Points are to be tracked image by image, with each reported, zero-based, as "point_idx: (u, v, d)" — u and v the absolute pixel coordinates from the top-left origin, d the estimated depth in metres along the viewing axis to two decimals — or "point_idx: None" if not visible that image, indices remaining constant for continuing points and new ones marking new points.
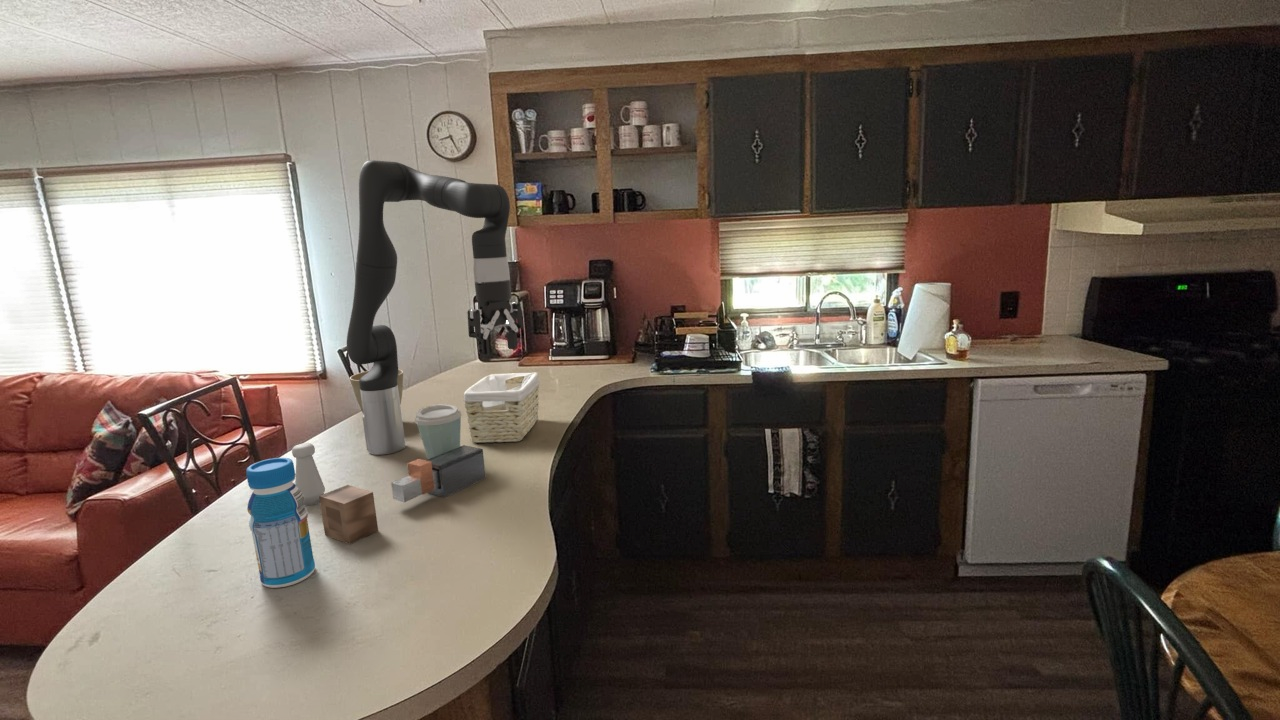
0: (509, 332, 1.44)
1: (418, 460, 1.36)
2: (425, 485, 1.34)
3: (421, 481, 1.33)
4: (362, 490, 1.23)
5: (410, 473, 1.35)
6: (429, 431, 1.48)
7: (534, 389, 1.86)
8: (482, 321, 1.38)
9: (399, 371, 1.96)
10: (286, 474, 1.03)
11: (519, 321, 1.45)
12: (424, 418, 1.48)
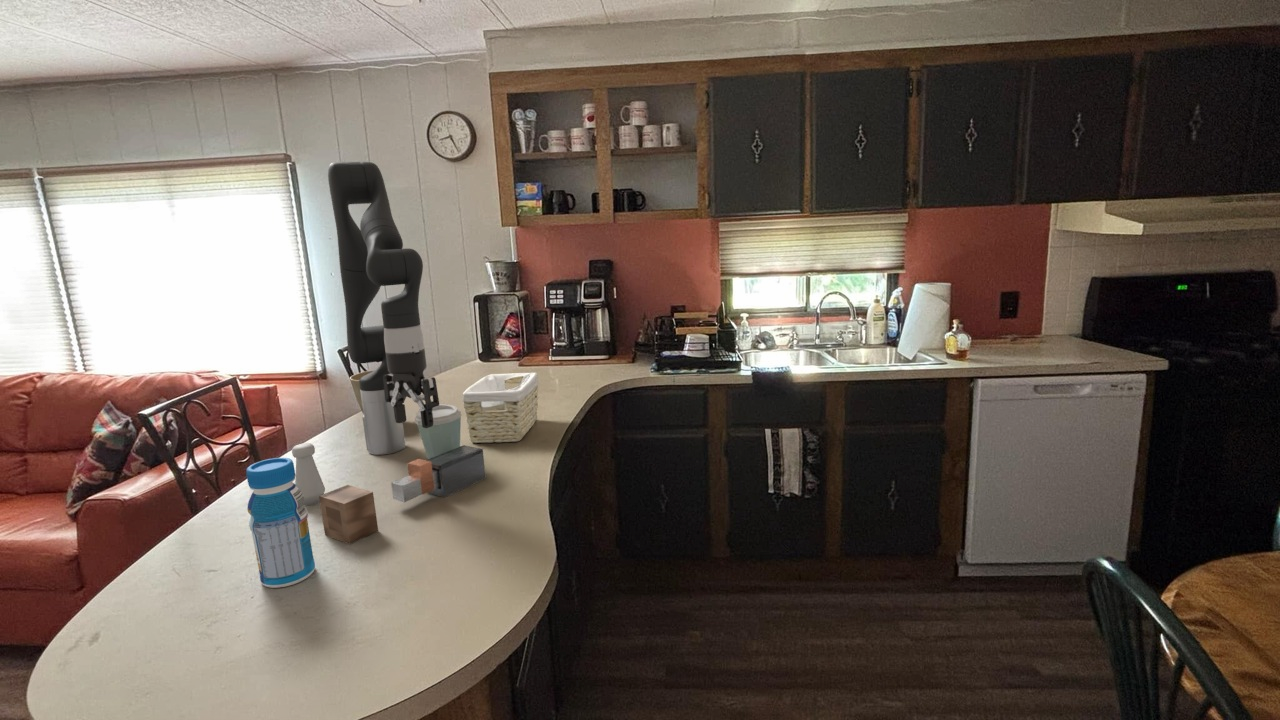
0: (398, 405, 1.35)
1: (418, 460, 1.36)
2: (425, 485, 1.34)
3: (421, 481, 1.33)
4: (362, 490, 1.23)
5: (410, 473, 1.35)
6: (429, 431, 1.48)
7: (533, 389, 1.86)
8: None
9: None
10: (286, 474, 1.03)
11: None
12: None
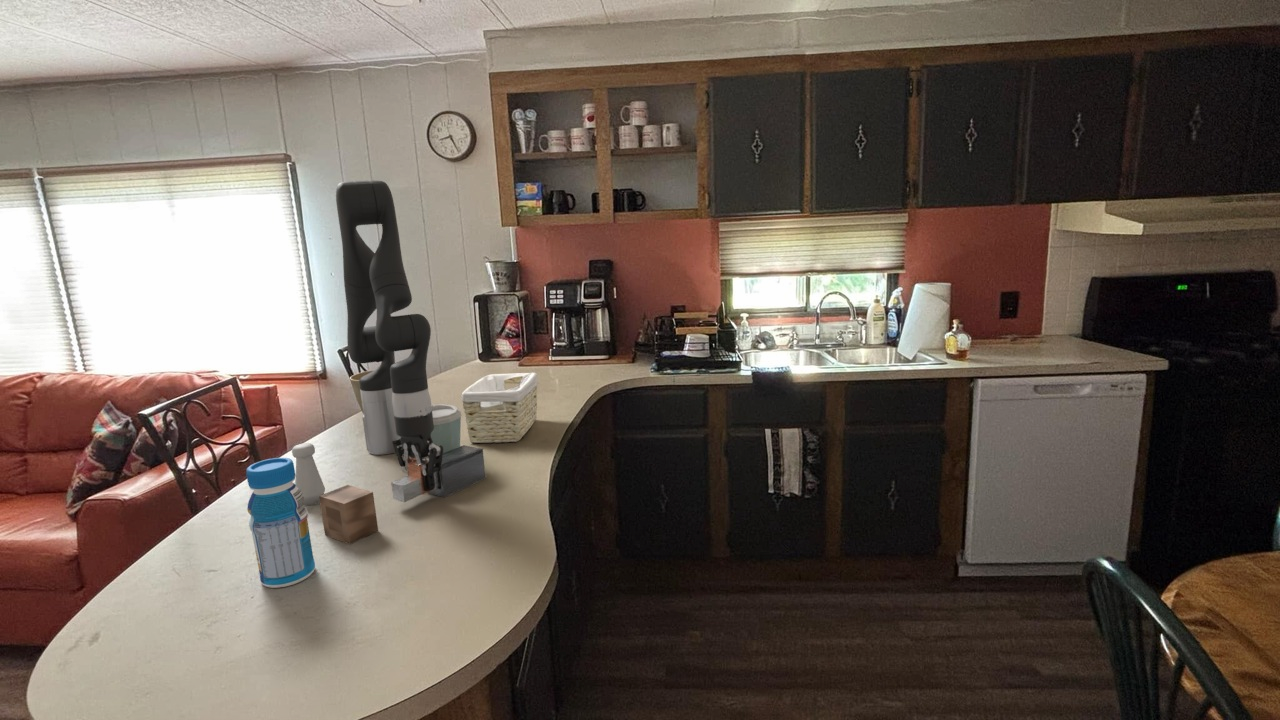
0: None
1: None
2: None
3: (421, 481, 1.33)
4: (362, 490, 1.23)
5: (410, 473, 1.35)
6: None
7: (532, 389, 1.86)
8: None
9: None
10: (286, 474, 1.03)
11: None
12: None
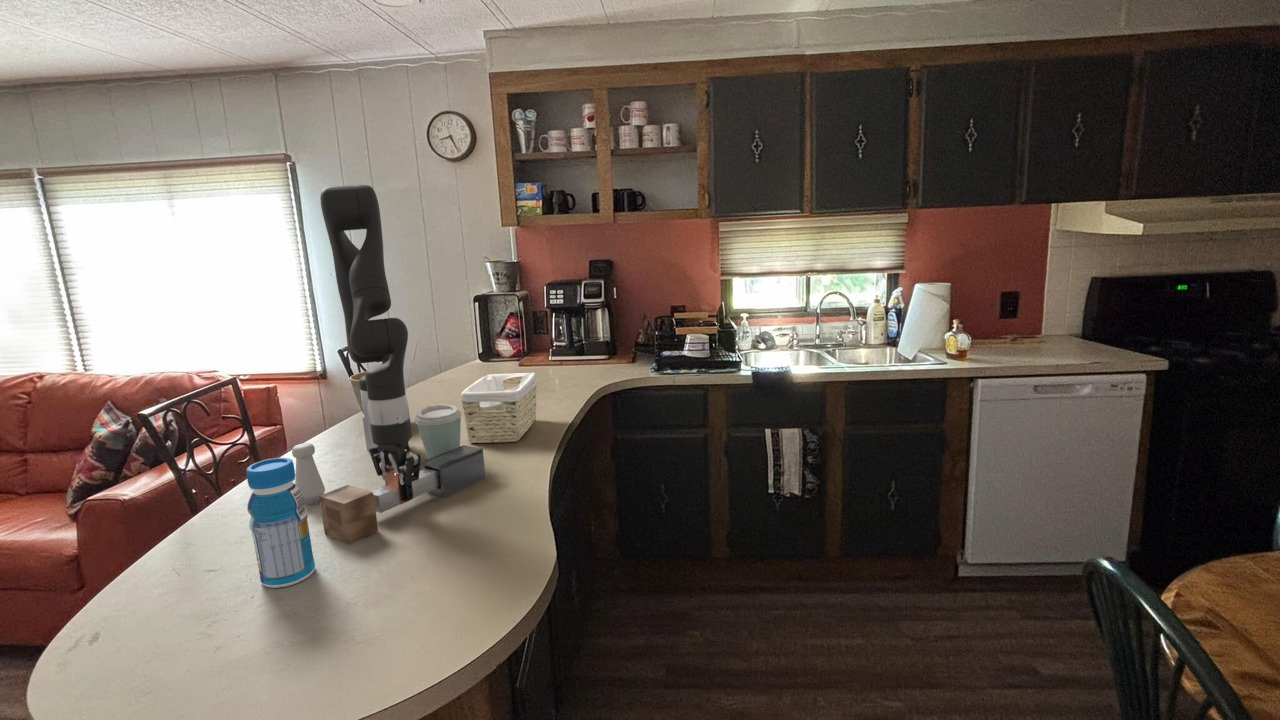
0: None
1: None
2: None
3: (399, 491, 1.29)
4: (362, 490, 1.23)
5: (387, 482, 1.30)
6: (429, 431, 1.48)
7: (532, 389, 1.86)
8: None
9: None
10: (286, 474, 1.03)
11: None
12: (424, 418, 1.48)
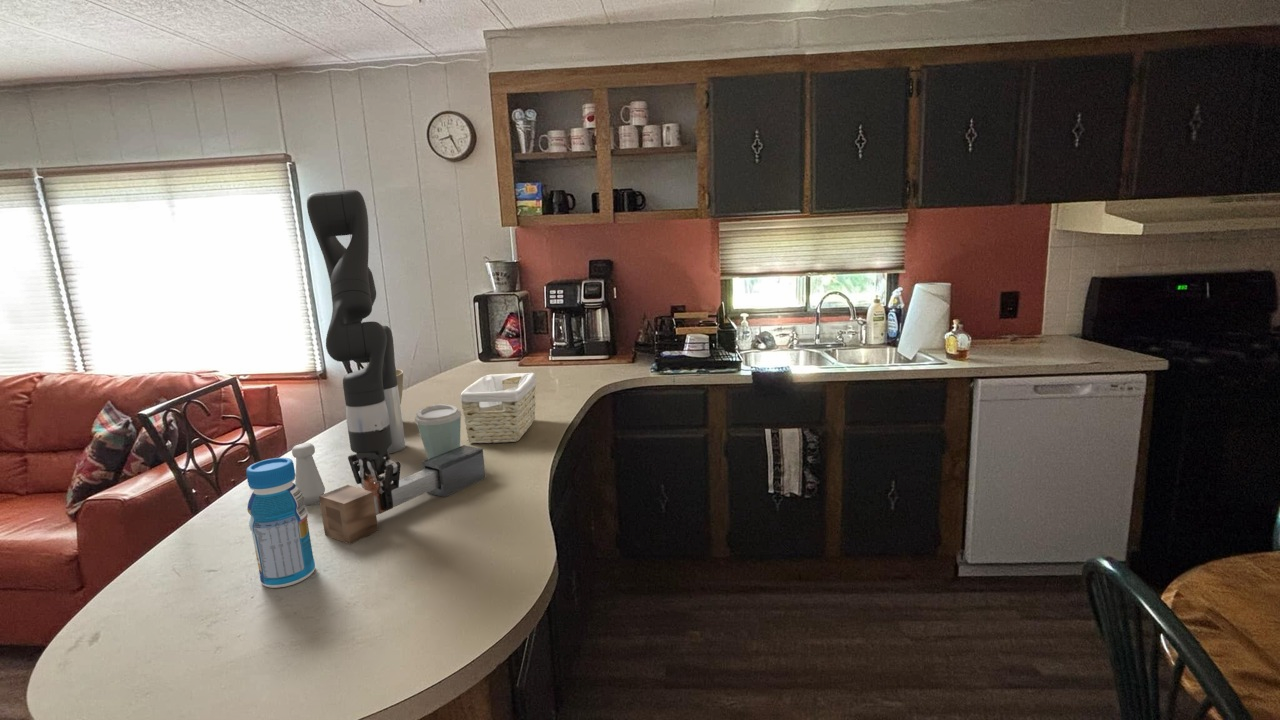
0: None
1: None
2: None
3: (378, 500, 1.25)
4: (362, 490, 1.23)
5: None
6: (429, 431, 1.48)
7: (531, 389, 1.86)
8: None
9: (399, 371, 1.96)
10: (286, 474, 1.03)
11: None
12: (424, 418, 1.48)
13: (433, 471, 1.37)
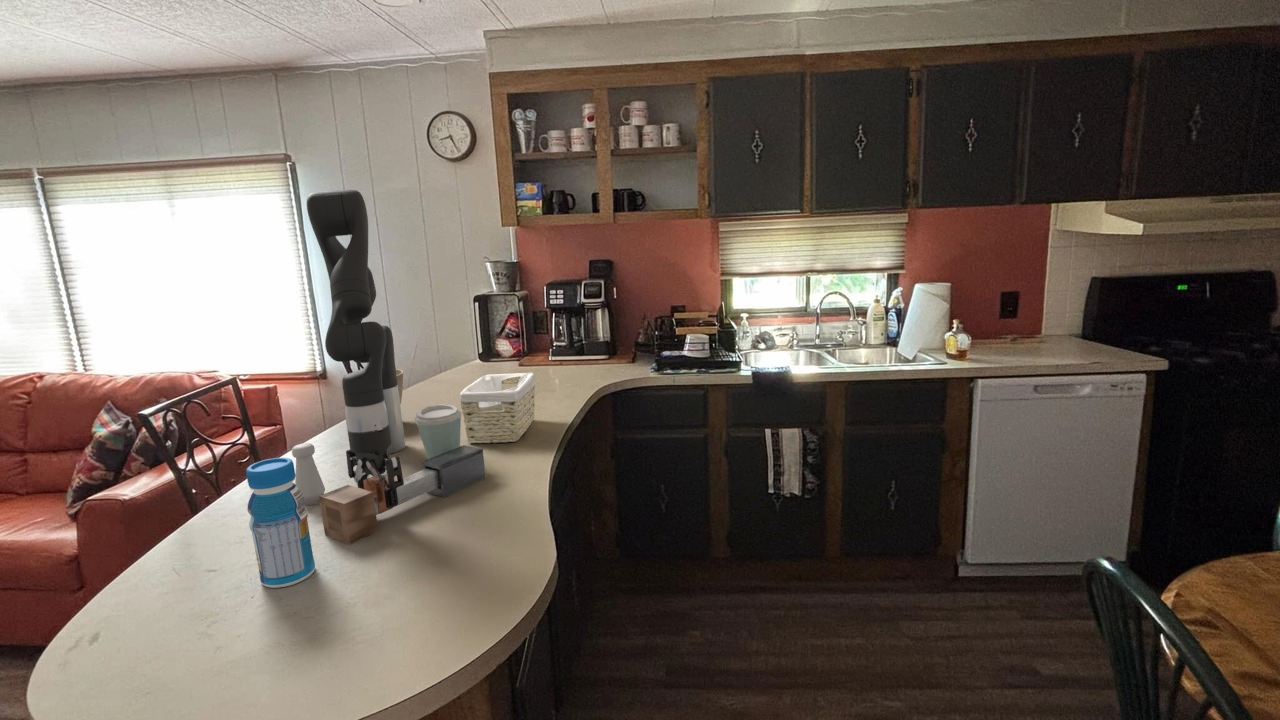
0: (362, 481, 1.29)
1: None
2: (382, 504, 1.26)
3: (377, 500, 1.25)
4: (362, 490, 1.23)
5: None
6: (429, 431, 1.48)
7: (530, 389, 1.86)
8: None
9: (399, 371, 1.96)
10: (286, 474, 1.03)
11: None
12: (424, 418, 1.48)
13: (433, 471, 1.37)
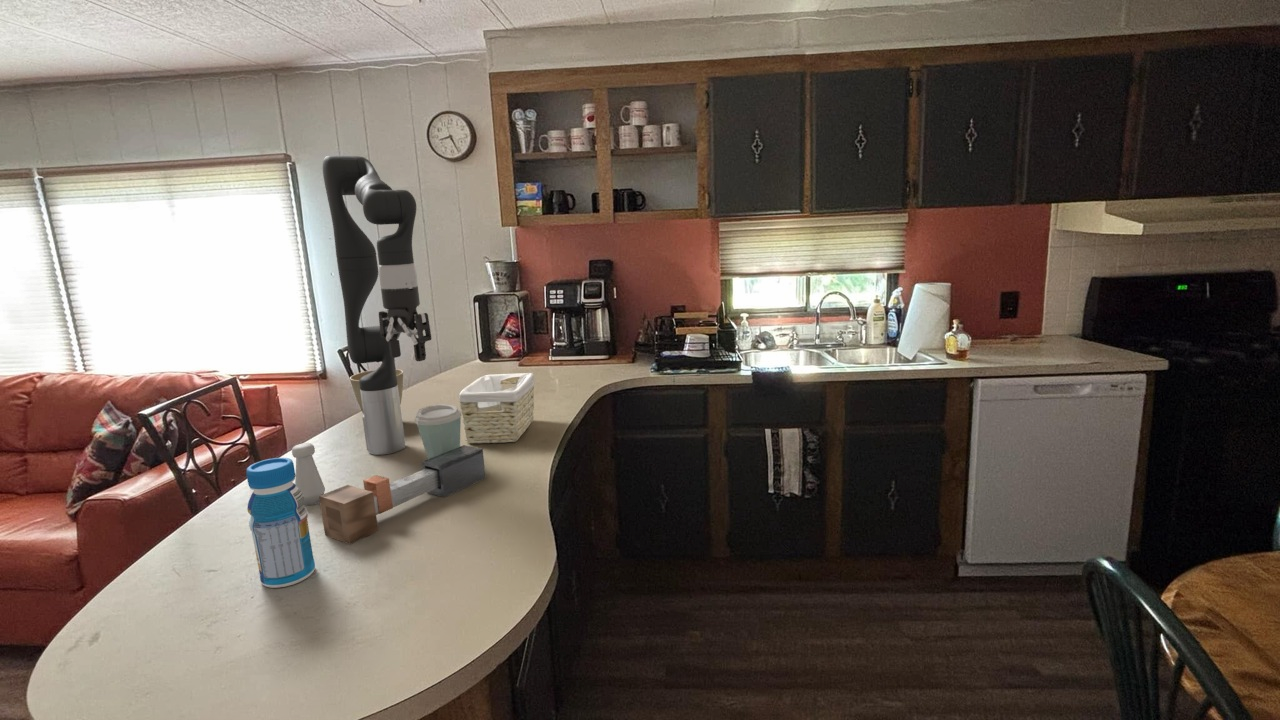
0: (393, 340, 1.42)
1: (375, 477, 1.28)
2: (382, 504, 1.26)
3: (377, 500, 1.25)
4: (362, 490, 1.23)
5: None
6: (429, 431, 1.48)
7: (529, 389, 1.86)
8: None
9: (399, 371, 1.96)
10: (286, 474, 1.03)
11: None
12: (424, 418, 1.48)
13: (433, 471, 1.37)
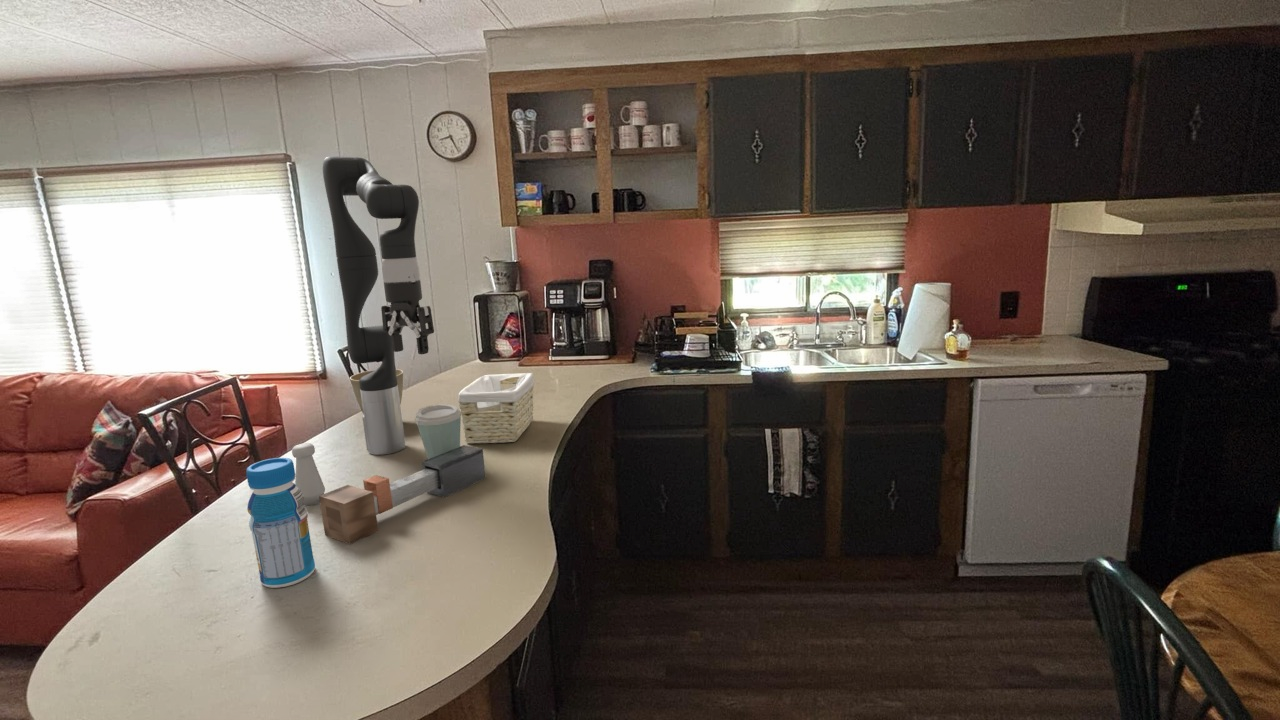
0: (395, 335, 1.43)
1: (375, 477, 1.28)
2: (382, 504, 1.26)
3: (377, 500, 1.25)
4: (362, 490, 1.23)
5: None
6: (429, 431, 1.48)
7: (529, 390, 1.86)
8: None
9: (399, 371, 1.96)
10: (286, 474, 1.03)
11: None
12: (424, 418, 1.48)
13: (433, 471, 1.37)
